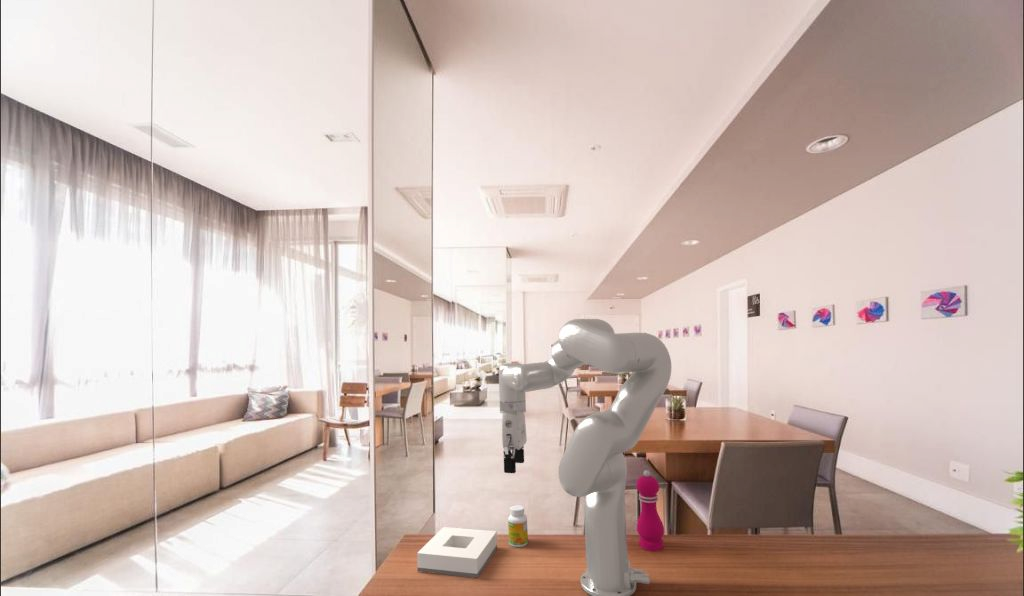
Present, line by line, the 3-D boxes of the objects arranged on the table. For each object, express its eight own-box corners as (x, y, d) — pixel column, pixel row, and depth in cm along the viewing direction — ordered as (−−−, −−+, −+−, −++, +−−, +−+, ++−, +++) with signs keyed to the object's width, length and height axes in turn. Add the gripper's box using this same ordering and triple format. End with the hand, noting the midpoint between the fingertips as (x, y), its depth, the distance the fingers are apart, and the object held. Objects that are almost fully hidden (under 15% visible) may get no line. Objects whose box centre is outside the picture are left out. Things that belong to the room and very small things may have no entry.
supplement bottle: (505, 545, 127) (504, 509, 128) (514, 537, 132) (513, 503, 133) (522, 549, 125) (521, 512, 126) (531, 541, 130) (529, 505, 130)
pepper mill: (667, 553, 119) (661, 474, 121) (638, 551, 121) (633, 473, 123) (663, 540, 127) (658, 466, 128) (636, 539, 128) (632, 466, 130)
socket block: (497, 548, 126) (496, 531, 126) (477, 578, 111) (476, 558, 111) (443, 543, 130) (443, 526, 131) (417, 571, 115) (417, 552, 115)
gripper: (517, 412, 122) (519, 477, 121) (532, 402, 139) (533, 459, 137) (491, 411, 124) (492, 476, 123) (508, 401, 141) (509, 458, 139)
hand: (514, 467), depth 130 cm, fingers open, 9 cm apart
